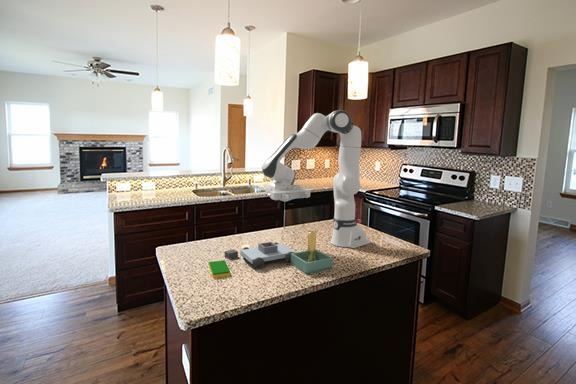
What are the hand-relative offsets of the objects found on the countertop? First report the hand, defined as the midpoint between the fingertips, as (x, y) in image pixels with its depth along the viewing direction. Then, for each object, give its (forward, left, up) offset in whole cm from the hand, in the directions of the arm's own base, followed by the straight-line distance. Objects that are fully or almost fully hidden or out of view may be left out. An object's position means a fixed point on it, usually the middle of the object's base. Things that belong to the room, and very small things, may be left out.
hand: (298, 196), depth 152 cm
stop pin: (0, +12, -29) cm, 31 cm away
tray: (0, +12, -30) cm, 32 cm away
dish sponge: (+38, -2, -31) cm, 49 cm away
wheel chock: (+28, -15, -30) cm, 44 cm away
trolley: (+14, -4, -30) cm, 33 cm away
